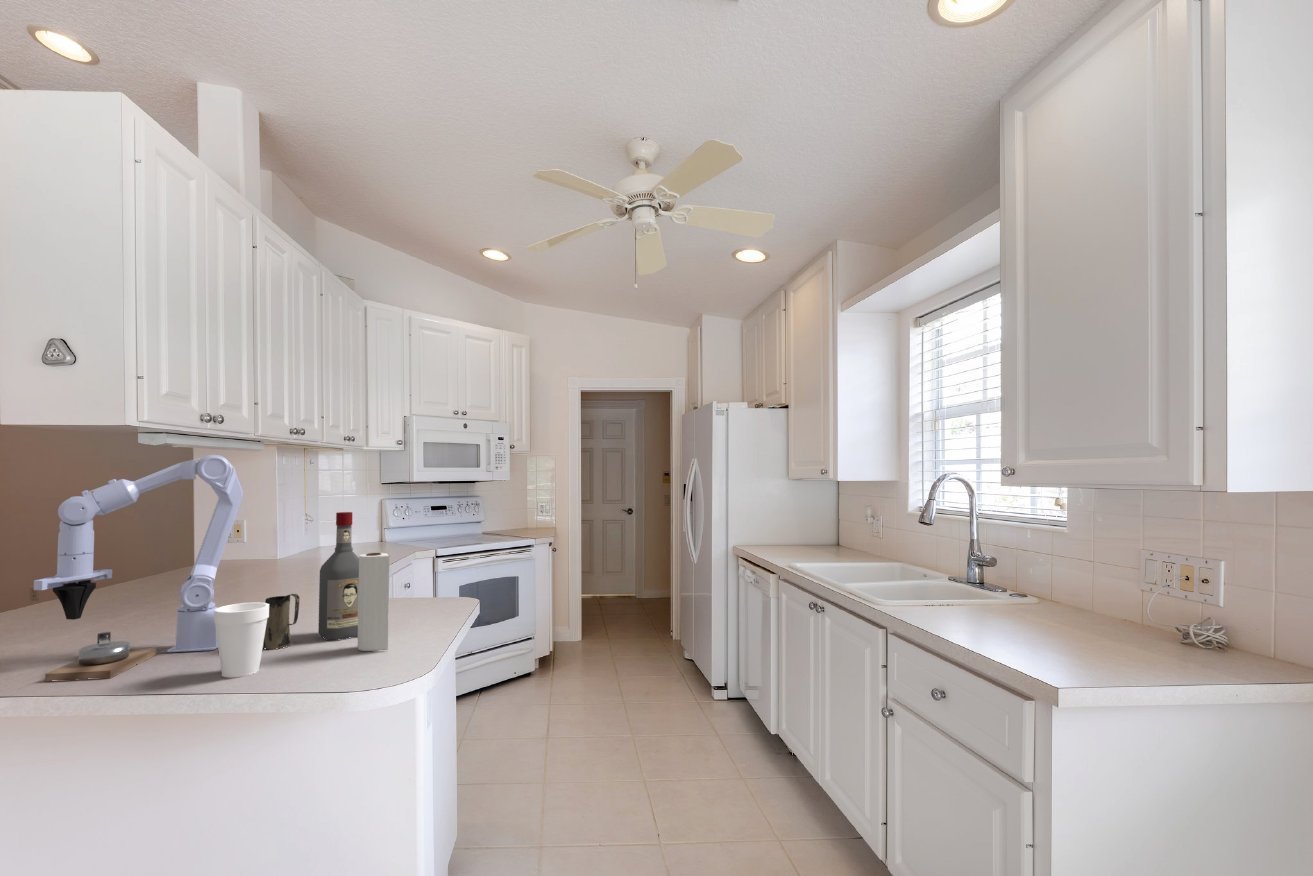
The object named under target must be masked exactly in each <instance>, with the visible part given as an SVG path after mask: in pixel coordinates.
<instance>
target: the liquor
mask: <svg viewBox="0 0 1313 876" xmlns="http://www.w3.org/2000/svg"><path fill="white" fill-rule="evenodd" d="M335 514H336V515H335V526H336V532H335V533H336V534H335V536H336V537H335V548H334V552H333V553H332V554H331V555H330V557H328V559H327V560H326V561H325V562H324V563H323V564H322V565H321V567H320V569H319V583H318V585H319V589H318V591H319V592H318V635H319V636H321V637H320V638H322V637H324V638H325V640H326V639H327V640H326V641H339V640H338V639H343V640H347V639H346V638H349V637H354V638H358V637H357V636H358V595H359V556H358V555H357V554H356V553H355V552H354V551H353V550H354V548H353V546H352V544H353V543H352V537H353V536H352V534H353V532H352V529H353V528H352V527H353V526H352V525H353V512H352V511H342V512H340V511H338V512H336V513H335ZM324 638H323V639H324ZM349 639H350V638H349Z"/></svg>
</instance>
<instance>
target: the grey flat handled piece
mask: <svg viewBox="0 0 1313 876" xmlns="http://www.w3.org/2000/svg"><path fill="white" fill-rule="evenodd" d="M111 637H112V635H111V631H102V632H99V633H97V638H96V639H97V641H96V643H94V644H89V645H87V646H83V647H80V648H79V649H78V660H79V661H78V663H79V664H83V665H93V664H103V663H109V662H114V661H118V660H122V659H124V658H127V657H128V656H129V649H131V648H130V646H131V643H130V642H129V641H126V640H125V641H123V640H122V641H121V640H119V641H118V640H117V641H111V640H112V639H111Z"/></svg>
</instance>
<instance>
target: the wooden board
mask: <svg viewBox="0 0 1313 876" xmlns="http://www.w3.org/2000/svg"><path fill="white" fill-rule="evenodd" d="M154 655H155V656H156V655H157V648H154V647H152V648H129V656H128V657H127V658H124V659H122V660H118V661H114V662H109V663H103V664H93V665H83V664H79V663H78V661H79V659H77V660H74V661H72V662H70V663H68V664H66V665H62V666H61V667H58V668H55V669H54V670H51V671H49V672H46V673H45V674H44V682H45V681H52V680H71V681H77V680H76V679H88V678H107V679H111V677H112V678H114V677H115V676H114V675H116V676H118V675H119V674H118V673H120V672H122V671H124V670H126V671H127V669H128V668H130V669H132V668H133V667H135V666H137V665H140V664H141V663H143V662H145V661H147V660H149V659H151V658H153V657H155V656H154ZM140 662H141V663H140ZM136 664H137V665H136ZM128 670H129V669H128ZM124 672H125V671H124ZM122 673H123V672H122ZM117 674H118V675H117ZM120 674H121V673H120ZM113 676H114V677H113Z"/></svg>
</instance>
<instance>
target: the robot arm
mask: <svg viewBox="0 0 1313 876" xmlns="http://www.w3.org/2000/svg"><path fill="white" fill-rule="evenodd" d="M197 476H198V477H199V478H200V479H202V480H203V481H204V482H205V483H206V484H208V485H209V486H210V487H211V489H212V490H213V491H214V492H215V494H216V496H217V497H218V498H217V501H216V504H215V508H214V509H213V513H212V516H211V518H210V521H209V523H208V525H207V526H208V527H207V529H206V532H205V535H204V537H203V540H202V543H201V545H200V547H199V551H198V553H197V556H196V560H195V562H194V564H193V566H192V569H191V571H190V574H189V575H188V577H187V578H186V579H185V580H183V582H182V583H181V585H180V587H179V600H180V603H181V604H180V605H179V606H177V607H176V622H175V623H176V627H175V630H176V631H175V645H174V646H173V647H171V648H169V649H167V650H166V652H167V653H179V652H180V653H182V652H198V651H199V652H202V651H203V652H204V651H214V650H216V649H218V641H217V633H216V625H215V623H214V611H215V609H216V608H219V606H216V603H215V602H214V601H213V599H214V597H215V591H214V583H215V579H216V575H217V570H218V567H219V565H220V562H221V559H222V557H223V553H224V550H225V549H226V545H227V542H228V540H229V536H230V534H231V531H232V528H233V526H234V523H235V521H236V517H237V514H238V511H239V508H240V505H241V503H242V500H243V497H244V491H243V488H242V486H241V483H240V480H239V477H238V475H237V471H236V468H235V467H234V466H233V465H232V464H231V463H230V461H229V460H228V459H227V458H225V456H222V455H219V454H209V455H206V456H203V457H202V458H195V459H190V460H187V461H182V462H178V463H175V464H173V465H171V466H169V467H166V468H164V469H161V470H159V471H157V472H154V473H153V472H152V473H151V474H149V475H147V476H144V477H142V478H139V479H137V480H135V481H134V480H133V481H132V480H128V479H126V478H125V479H124V478H121V479H118V480H117V479H116V478H114V479H110V480H108V481H107V484H105V485H102V486H100V487H97V488H94V489H92V490H87V489H85V490H83V491H81V495H82V496H79V495H78V496H77V495H76V496H71V497H69V498H68V499H65V500H64V501H62V503H61V504H59V506H58V509H57V515H58V518H59V519H60V522H59V525H58V529H59V532H58V535H57V538H58V540H57V558H56V559H57V560H56V561H57V562H56V564H57V567H56V574H55V575H54V576H49V577H45V578H40V579H35V580H33V591H46V590H48V589H52V592H53V593H54V594H55V596H56V597H57V598H58V600H59V602H60V603H61V604H60V605H61V606H62V610H63V613H64V615H65V618H66V619H65V620H70V621H71V620H72V621H73V620H78V619H81V618H82V615H83V612H84V609H85V606H86V604H87V602H88V600H89V598H90V597H91V595H92V593H93V592H94V591H95V589H96V588H97V582H94V581H99V580H108V579H109V580H110V579H113V569H111V568H110V569H109V568H107V569H105V568H104V569H103V568H102V569H98V570H96V569H95V570H94V557H95V556H94V553H95V530H94V519H93V518H95V517H96V515H98V516H104V515H107V514H109V513H112V512H114V511H117V510H119V509H122V508H125V507H127V506H130V505H133V504H135V503H137V501H138V499H139V496H140V495H141V494H143V493H146V492H148V491H151V490H154V489H157V488H160V487H162V486H166V485H168V484H170V483H173V482H176V481H179V480H197Z"/></svg>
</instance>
